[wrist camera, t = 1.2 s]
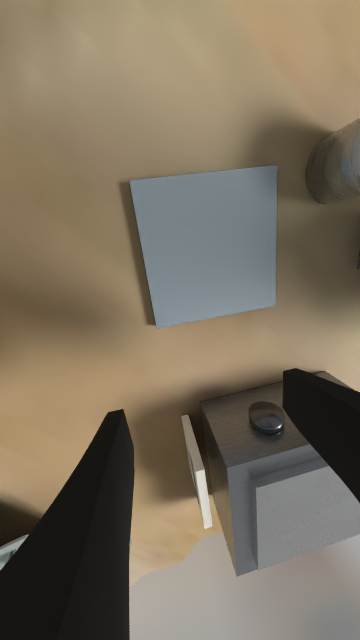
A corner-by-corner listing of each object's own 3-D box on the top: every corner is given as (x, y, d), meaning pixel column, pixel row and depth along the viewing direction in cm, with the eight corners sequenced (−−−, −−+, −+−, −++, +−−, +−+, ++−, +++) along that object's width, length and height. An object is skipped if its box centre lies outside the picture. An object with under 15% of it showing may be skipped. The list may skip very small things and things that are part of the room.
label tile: (188, 414, 19) (205, 469, 14) (195, 463, 21) (212, 526, 16) (180, 416, 19) (194, 472, 14) (189, 465, 21) (204, 529, 16)
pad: (271, 168, 14) (277, 165, 13) (270, 303, 17) (275, 305, 16) (129, 183, 13) (129, 180, 12) (156, 325, 16) (156, 328, 15)
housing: (325, 364, 20) (411, 417, 14) (315, 463, 24) (376, 537, 18) (199, 394, 18) (230, 469, 12) (212, 494, 23) (240, 588, 16)
